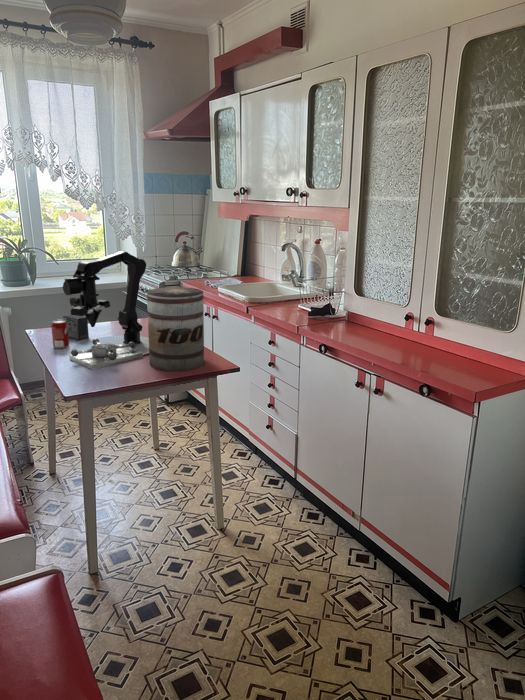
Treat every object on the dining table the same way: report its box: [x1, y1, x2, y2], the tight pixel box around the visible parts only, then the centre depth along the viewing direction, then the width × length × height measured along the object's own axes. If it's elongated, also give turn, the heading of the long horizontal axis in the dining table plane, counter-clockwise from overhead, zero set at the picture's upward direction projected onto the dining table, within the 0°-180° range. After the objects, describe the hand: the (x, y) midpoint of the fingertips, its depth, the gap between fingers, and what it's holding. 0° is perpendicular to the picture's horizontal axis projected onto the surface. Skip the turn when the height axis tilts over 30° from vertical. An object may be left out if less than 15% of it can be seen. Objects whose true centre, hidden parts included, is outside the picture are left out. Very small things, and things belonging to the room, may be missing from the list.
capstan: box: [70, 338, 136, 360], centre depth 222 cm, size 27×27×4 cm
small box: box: [62, 314, 90, 341], centre depth 252 cm, size 11×6×10 cm, turn 58°
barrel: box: [146, 286, 205, 373], centre depth 216 cm, size 22×22×30 cm
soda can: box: [50, 319, 70, 349], centre depth 236 cm, size 7×7×12 cm
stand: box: [68, 343, 144, 370], centre depth 224 cm, size 24×18×2 cm
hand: (92, 326), depth 229 cm, fingers closed
